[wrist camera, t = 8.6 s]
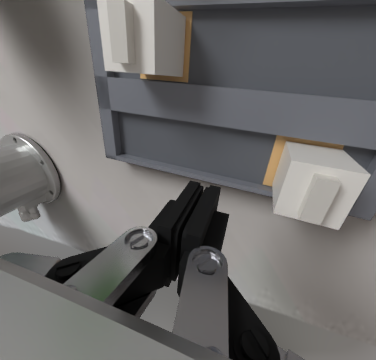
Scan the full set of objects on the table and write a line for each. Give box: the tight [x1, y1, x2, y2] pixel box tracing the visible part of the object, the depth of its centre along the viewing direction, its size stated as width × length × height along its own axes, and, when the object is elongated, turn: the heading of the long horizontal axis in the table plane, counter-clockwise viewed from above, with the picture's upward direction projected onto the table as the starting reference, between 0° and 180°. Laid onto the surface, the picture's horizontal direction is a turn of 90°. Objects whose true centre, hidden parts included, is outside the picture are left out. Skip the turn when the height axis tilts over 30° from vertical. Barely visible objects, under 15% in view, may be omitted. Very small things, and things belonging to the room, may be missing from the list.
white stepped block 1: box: [97, 0, 186, 77], centre depth 14 cm, size 4×4×6 cm
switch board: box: [84, 0, 376, 220], centre depth 15 cm, size 22×26×2 cm
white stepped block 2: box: [272, 141, 371, 230], centre depth 14 cm, size 4×4×6 cm
